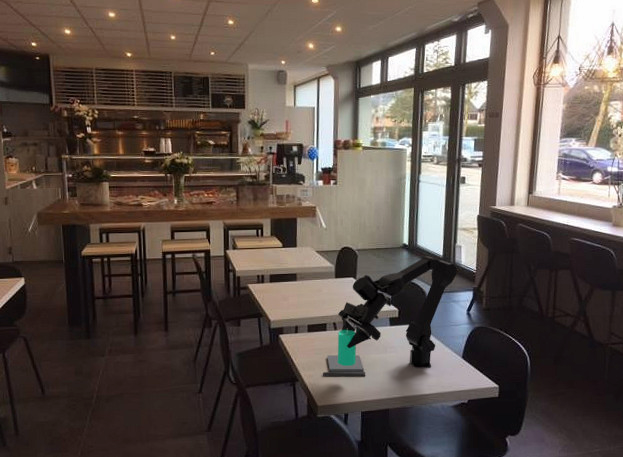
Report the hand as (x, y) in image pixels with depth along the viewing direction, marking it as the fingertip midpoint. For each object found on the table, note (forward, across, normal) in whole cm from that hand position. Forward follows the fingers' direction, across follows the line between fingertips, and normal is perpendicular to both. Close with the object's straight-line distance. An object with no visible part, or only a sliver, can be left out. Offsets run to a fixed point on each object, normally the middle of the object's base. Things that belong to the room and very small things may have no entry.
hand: (343, 344), depth 183 cm
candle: (+4, 0, +6) cm, 7 cm away
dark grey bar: (+7, -4, +12) cm, 14 cm away
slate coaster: (+4, -11, +15) cm, 19 cm away
